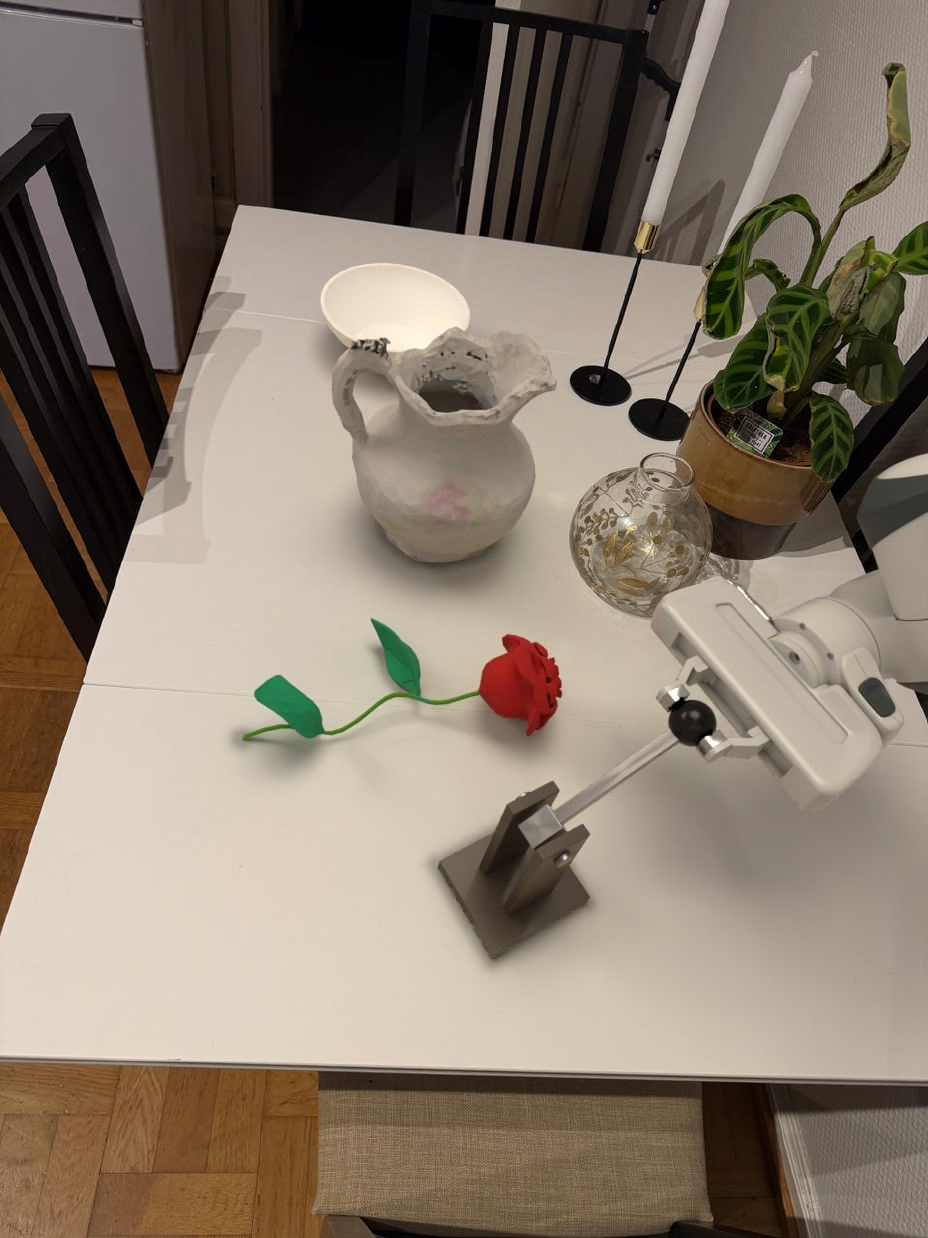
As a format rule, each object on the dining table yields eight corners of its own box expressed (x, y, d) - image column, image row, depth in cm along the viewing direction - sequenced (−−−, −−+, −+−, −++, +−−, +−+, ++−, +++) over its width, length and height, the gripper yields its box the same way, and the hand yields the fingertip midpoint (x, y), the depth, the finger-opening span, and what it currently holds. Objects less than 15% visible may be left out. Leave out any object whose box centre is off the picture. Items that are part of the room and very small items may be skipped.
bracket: (530, 816, 80) (567, 744, 69) (586, 902, 76) (635, 840, 65) (437, 866, 76) (461, 798, 65) (492, 959, 72) (527, 903, 61)
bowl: (358, 410, 110) (361, 365, 105) (295, 320, 119) (295, 275, 114) (488, 378, 118) (497, 335, 113) (420, 296, 127) (426, 253, 122)
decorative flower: (249, 636, 87) (244, 574, 80) (535, 639, 93) (556, 580, 85) (241, 761, 79) (235, 705, 71) (556, 756, 84) (582, 703, 77)
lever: (697, 698, 69) (695, 684, 66) (726, 734, 67) (726, 722, 64) (520, 823, 69) (510, 816, 66) (545, 862, 68) (536, 856, 64)
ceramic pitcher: (351, 608, 93) (373, 445, 72) (310, 470, 102) (319, 291, 81) (535, 577, 100) (604, 419, 79) (481, 450, 109) (530, 280, 88)
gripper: (741, 547, 74) (614, 602, 68) (922, 739, 64) (792, 820, 59) (713, 593, 79) (593, 647, 73) (878, 777, 69) (754, 855, 64)
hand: (683, 726), depth 66 cm, fingers closed on lever, 3 cm apart
